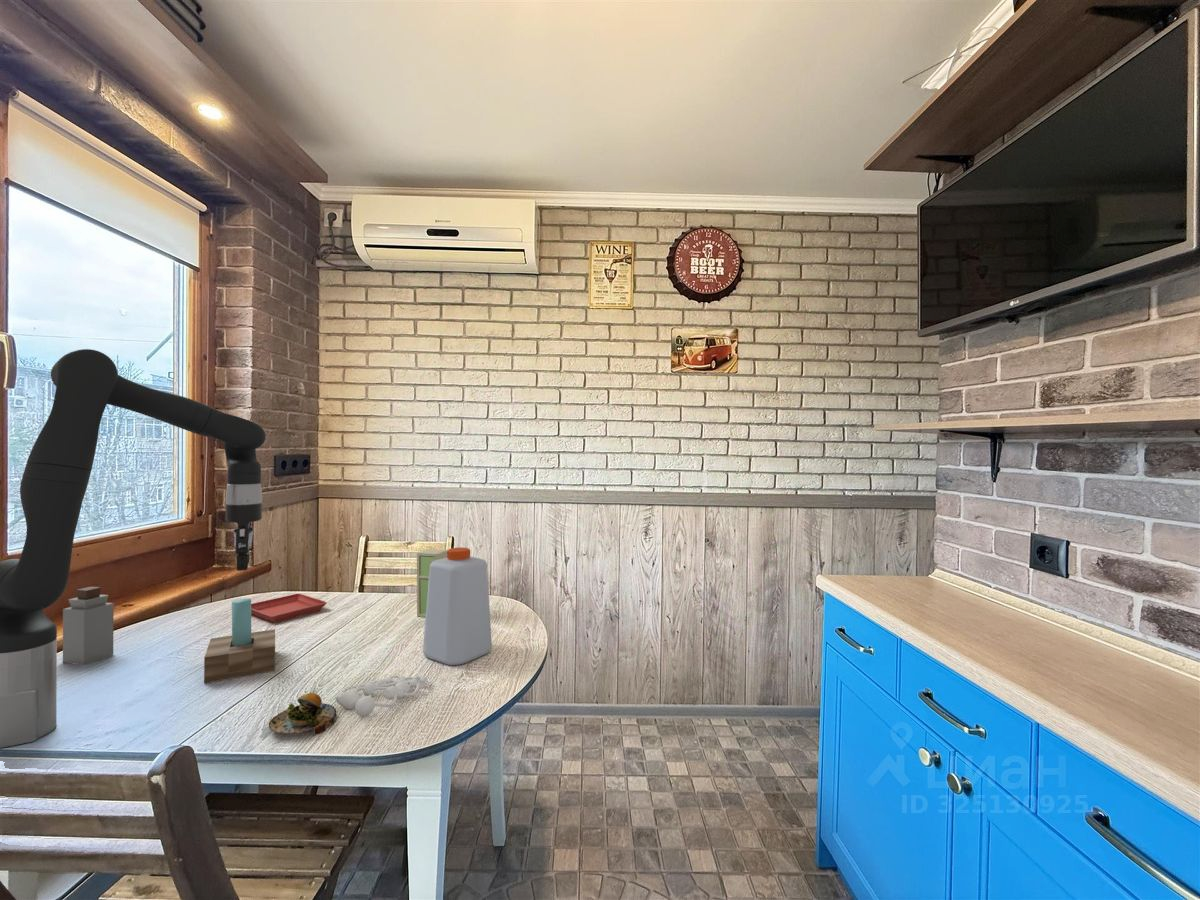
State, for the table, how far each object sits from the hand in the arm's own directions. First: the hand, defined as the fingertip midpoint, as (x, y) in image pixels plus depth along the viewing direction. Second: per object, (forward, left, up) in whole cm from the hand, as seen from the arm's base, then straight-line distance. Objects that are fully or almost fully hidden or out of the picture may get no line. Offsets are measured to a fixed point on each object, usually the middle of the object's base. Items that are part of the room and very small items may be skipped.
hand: (243, 566), depth 133 cm
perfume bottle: (+25, +34, -25) cm, 49 cm away
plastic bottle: (-18, -49, -25) cm, 58 cm away
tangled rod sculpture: (-34, -27, -26) cm, 51 cm away
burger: (-39, -12, -25) cm, 48 cm away
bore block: (0, 0, -25) cm, 25 cm away
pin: (0, 0, -23) cm, 23 cm away
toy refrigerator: (+18, -51, -25) cm, 60 cm away
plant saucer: (+44, -10, -26) cm, 52 cm away
